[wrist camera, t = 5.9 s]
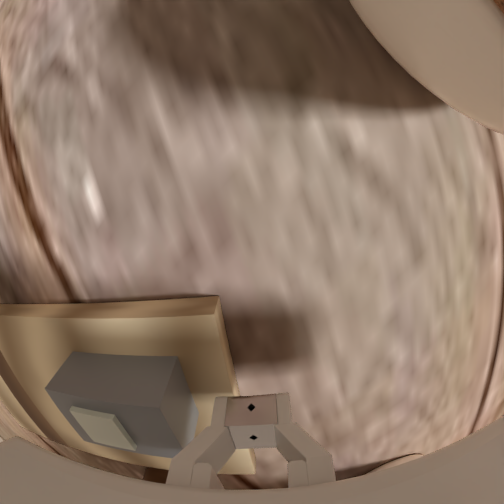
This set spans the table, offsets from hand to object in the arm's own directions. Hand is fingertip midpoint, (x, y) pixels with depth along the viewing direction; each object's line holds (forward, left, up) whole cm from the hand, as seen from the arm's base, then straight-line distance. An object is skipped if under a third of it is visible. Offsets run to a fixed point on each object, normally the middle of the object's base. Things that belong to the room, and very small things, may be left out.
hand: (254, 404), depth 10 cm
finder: (+6, 0, -1) cm, 6 cm away
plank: (+13, +3, -3) cm, 14 cm away
